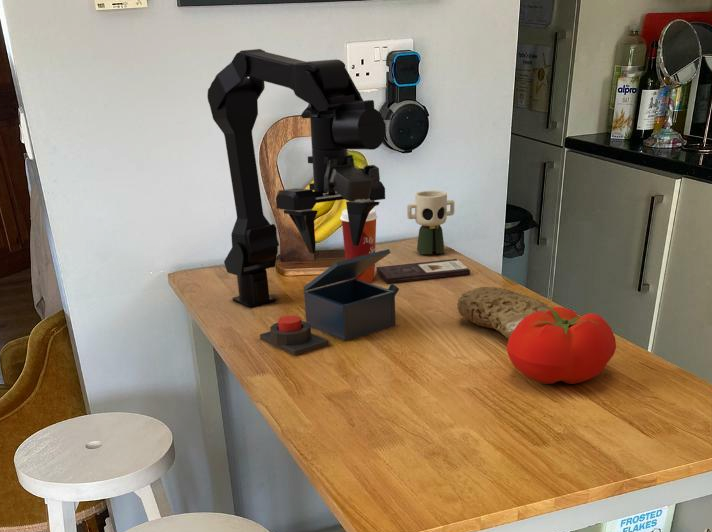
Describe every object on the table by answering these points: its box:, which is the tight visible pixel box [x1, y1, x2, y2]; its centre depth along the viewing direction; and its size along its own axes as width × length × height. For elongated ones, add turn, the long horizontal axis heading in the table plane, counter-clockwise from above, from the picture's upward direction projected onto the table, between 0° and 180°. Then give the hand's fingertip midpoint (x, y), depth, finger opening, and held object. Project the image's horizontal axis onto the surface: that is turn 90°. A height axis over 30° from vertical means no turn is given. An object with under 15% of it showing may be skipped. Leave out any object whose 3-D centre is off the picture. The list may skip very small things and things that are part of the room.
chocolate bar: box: [375, 258, 471, 284], centre depth 177 cm, size 9×1×18 cm
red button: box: [277, 315, 302, 332], centre depth 144 cm, size 4×4×2 cm
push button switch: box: [259, 320, 329, 357], centre depth 145 cm, size 11×7×3 cm
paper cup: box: [339, 208, 379, 283], centre depth 172 cm, size 8×8×14 cm
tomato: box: [506, 306, 617, 385], centre depth 126 cm, size 14×16×10 cm
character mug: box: [406, 190, 455, 255], centre depth 188 cm, size 11×7×13 cm, turn 101°
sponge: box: [456, 286, 551, 341], centre depth 145 cm, size 13×8×20 cm
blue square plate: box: [302, 248, 391, 292], centre depth 147 cm, size 12×12×1 cm
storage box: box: [303, 278, 396, 342], centre depth 150 cm, size 12×12×6 cm
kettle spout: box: [387, 283, 400, 296], centre depth 152 cm, size 2×5×5 cm, turn 128°
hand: (334, 249), depth 141 cm, fingers open, 9 cm apart
